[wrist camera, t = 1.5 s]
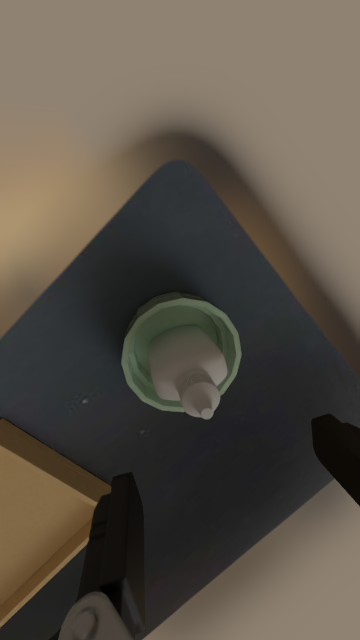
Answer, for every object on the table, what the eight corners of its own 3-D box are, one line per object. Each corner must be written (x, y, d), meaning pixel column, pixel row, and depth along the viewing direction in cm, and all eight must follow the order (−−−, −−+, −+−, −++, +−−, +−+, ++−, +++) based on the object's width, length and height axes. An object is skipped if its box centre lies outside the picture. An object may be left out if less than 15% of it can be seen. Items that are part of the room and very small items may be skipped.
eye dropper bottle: (198, 366, 26) (243, 451, 15) (145, 359, 25) (149, 443, 14) (208, 326, 25) (264, 383, 14) (153, 317, 24) (164, 370, 13)
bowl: (113, 305, 24) (107, 315, 20) (215, 281, 25) (231, 286, 21) (139, 397, 27) (139, 424, 22) (231, 373, 28) (247, 394, 23)
